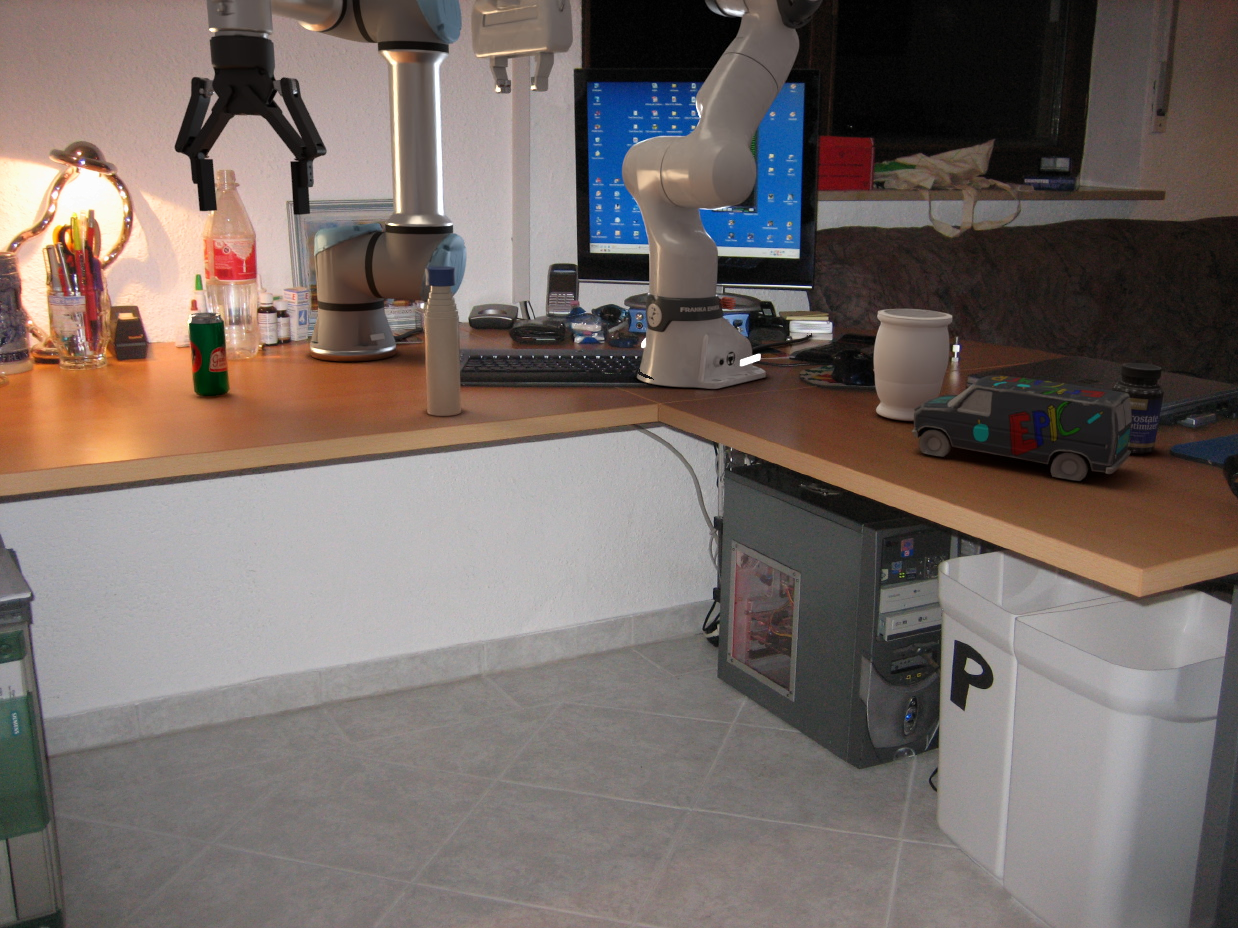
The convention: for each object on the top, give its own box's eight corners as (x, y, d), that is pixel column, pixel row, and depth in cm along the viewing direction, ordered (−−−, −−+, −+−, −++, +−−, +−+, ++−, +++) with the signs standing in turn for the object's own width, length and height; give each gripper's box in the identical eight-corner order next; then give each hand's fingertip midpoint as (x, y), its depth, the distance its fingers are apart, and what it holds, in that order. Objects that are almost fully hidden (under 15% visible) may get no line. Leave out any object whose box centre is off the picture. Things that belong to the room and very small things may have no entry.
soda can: (218, 398, 158) (211, 317, 155) (187, 396, 159) (179, 316, 156) (236, 391, 163) (230, 313, 160) (206, 389, 164) (199, 311, 161)
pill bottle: (1117, 454, 138) (1130, 370, 135) (1094, 442, 144) (1106, 361, 140) (1163, 454, 138) (1177, 370, 135) (1139, 442, 144) (1152, 361, 141)
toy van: (934, 435, 146) (942, 362, 143) (1130, 468, 132) (1143, 388, 129) (905, 451, 137) (912, 375, 134) (1110, 488, 123) (1124, 404, 121)
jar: (854, 409, 159) (862, 309, 155) (910, 404, 163) (920, 306, 159) (898, 426, 150) (909, 320, 146) (957, 420, 154) (969, 317, 150)
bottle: (440, 417, 150) (436, 273, 145) (420, 411, 154) (415, 270, 148) (468, 412, 154) (464, 271, 148) (447, 406, 157) (443, 268, 151)
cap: (437, 287, 146) (436, 270, 145) (419, 284, 149) (419, 267, 148) (461, 285, 149) (461, 268, 148) (443, 282, 151) (443, 265, 151)
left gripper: (134, 34, 131) (152, 210, 137) (317, 32, 126) (327, 217, 132) (172, 40, 138) (188, 208, 144) (347, 39, 133) (356, 214, 139)
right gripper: (585, -26, 133) (583, 91, 137) (502, -9, 149) (503, 96, 153) (542, -32, 130) (542, 88, 134) (462, -14, 146) (464, 93, 149)
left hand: (254, 213), depth 138 cm, fingers open, 13 cm apart
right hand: (520, 92), depth 143 cm, fingers open, 8 cm apart
